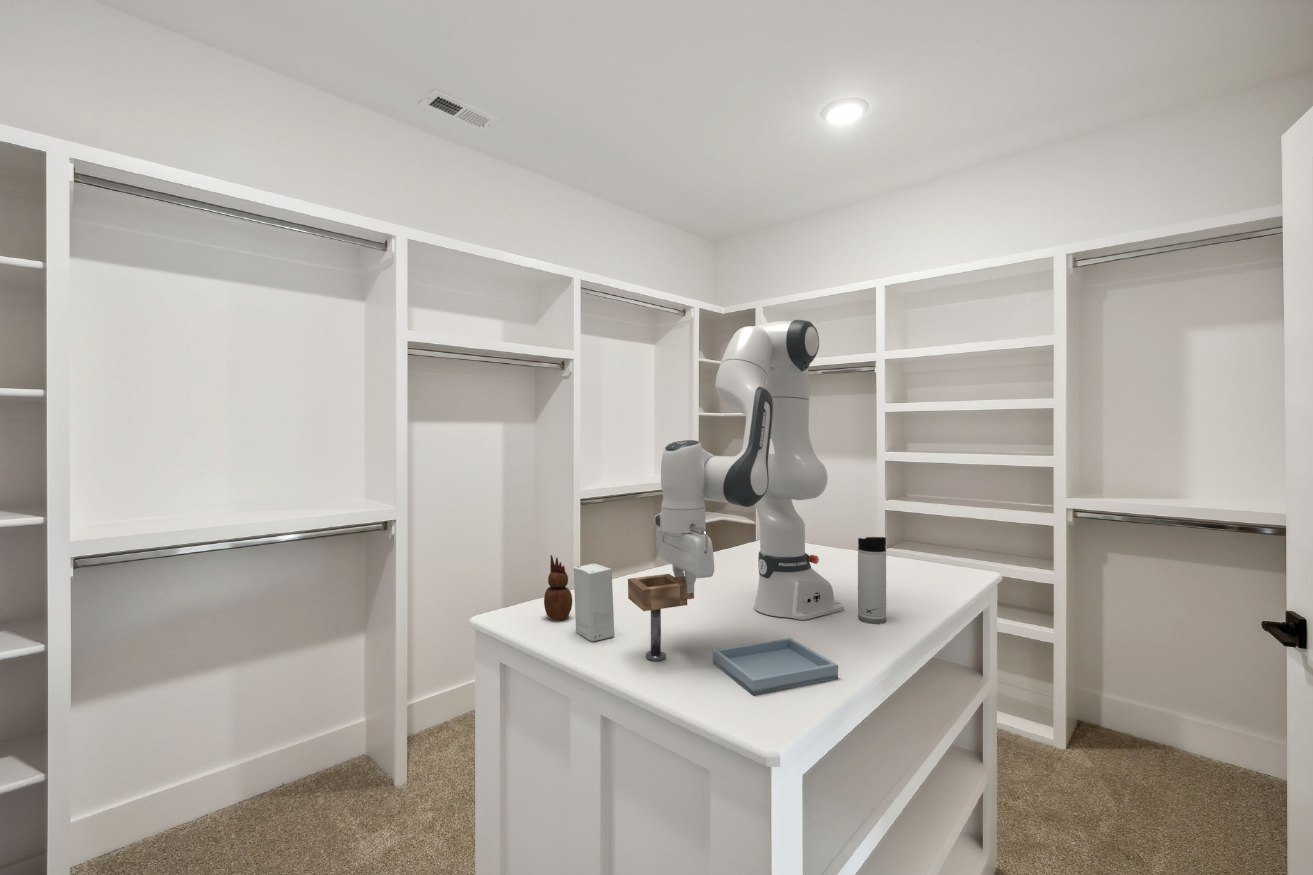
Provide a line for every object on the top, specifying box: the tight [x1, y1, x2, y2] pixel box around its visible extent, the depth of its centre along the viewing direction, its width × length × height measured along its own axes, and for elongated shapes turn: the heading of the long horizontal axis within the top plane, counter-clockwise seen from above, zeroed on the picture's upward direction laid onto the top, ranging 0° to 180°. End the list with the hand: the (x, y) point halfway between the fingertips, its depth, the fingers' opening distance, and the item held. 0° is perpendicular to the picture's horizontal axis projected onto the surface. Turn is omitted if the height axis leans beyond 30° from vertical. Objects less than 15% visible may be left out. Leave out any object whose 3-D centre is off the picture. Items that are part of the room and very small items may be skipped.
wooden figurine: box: [543, 554, 573, 621], centre depth 135 cm, size 7×6×15 cm
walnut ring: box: [627, 573, 695, 612], centre depth 112 cm, size 12×9×4 cm
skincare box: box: [573, 563, 615, 642], centre depth 124 cm, size 8×6×15 cm
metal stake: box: [645, 609, 667, 662], centre depth 111 cm, size 4×4×12 cm
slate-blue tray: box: [712, 637, 839, 696], centre depth 105 cm, size 18×15×2 cm
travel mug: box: [857, 536, 887, 625], centre depth 133 cm, size 6×7×20 cm
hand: (684, 589), depth 114 cm, fingers closed on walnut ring, 2 cm apart
